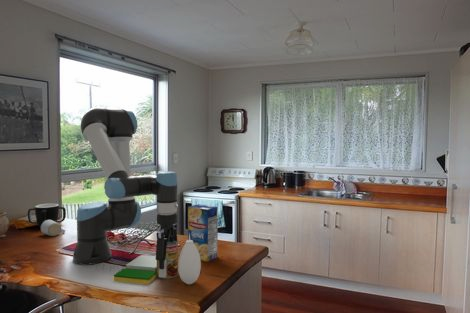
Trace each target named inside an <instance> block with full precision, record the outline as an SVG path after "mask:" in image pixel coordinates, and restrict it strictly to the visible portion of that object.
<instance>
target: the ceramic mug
mask: <svg viewBox="0 0 470 313" xmlns="http://www.w3.org/2000/svg"><path fill="white" fill-rule="evenodd" d="M40 231H41V232H42V234H43V235H47V236H50V237H56V236H58V235H59V234H60V233H61V234H65V232H66V230H65V229H63V228H62V226H61V224H60V222H55V221H53V220H46V221H44V222H43V223H42V225H41V227H40Z"/></svg>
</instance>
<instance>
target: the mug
mask: <svg viewBox="0 0 470 313" xmlns="http://www.w3.org/2000/svg"><path fill="white" fill-rule="evenodd" d="M60 210H62V218H61V219H58V218H59V211H60ZM32 211H34V213H35V220H33V219H32ZM66 212H67V209H66V207H63V206H60V205H59V203H42V204H37V205H35V206H34V207H33V208H29V209H28V210H27V219H28V222H29V223H30V224H35V225H36V224H37V226H38V227H39V228H41V225H42V223H43V222H44V221H46V220H53V221H55V222H57V223H62V222H64V221H65V220H66V217H67V216H66V215H67V213H66Z"/></svg>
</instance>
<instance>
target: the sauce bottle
mask: <svg viewBox="0 0 470 313" xmlns="http://www.w3.org/2000/svg"><path fill="white" fill-rule="evenodd" d="M201 262H202V260H200V255H199V252H198V250H197V248H196V246H195V244H194V243H193V240H190V233H189V240H188V239H187V240H186V241H185V244H184V245H183V246H182V249H181V250H180V253H179V256H178V274H179V277H180V280H181V281H182V282H184V283H185V284H186V285H193V284H194V283H195V282H196V281H197V280H198V279H199V276H200V272H201V266H202V263H201Z"/></svg>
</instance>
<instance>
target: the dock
mask: <svg viewBox="0 0 470 313" xmlns="http://www.w3.org/2000/svg"><path fill="white" fill-rule="evenodd" d="M125 269H135V270H146V271H156V272H157V260H156V255H147V254H146V255H144V254H141V255H139V256H137V257H136V258H134V259H133V260H132V261H130V262H128V263H127V264H126V265H125Z"/></svg>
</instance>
